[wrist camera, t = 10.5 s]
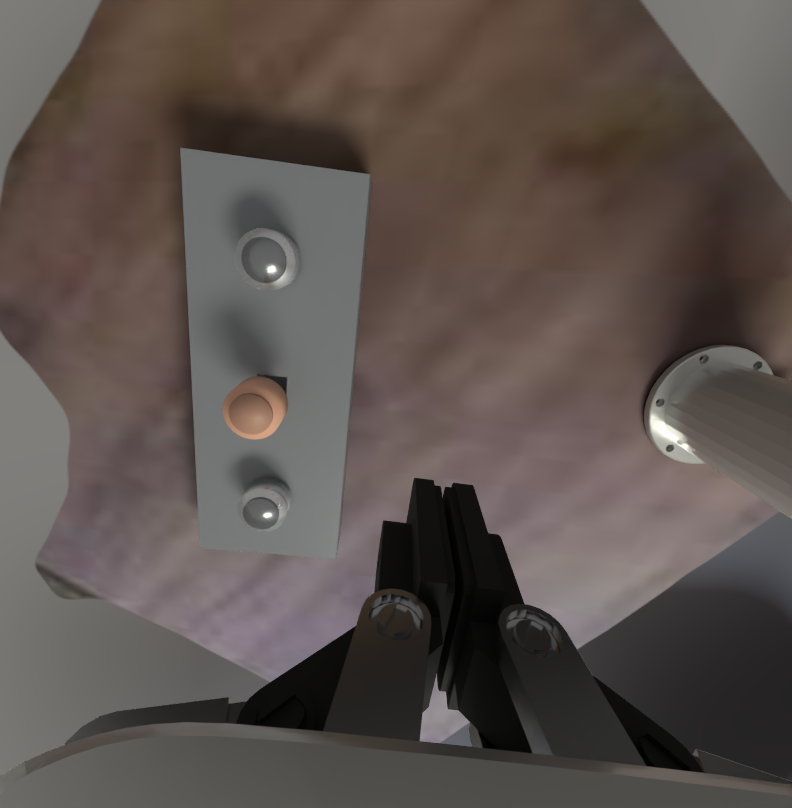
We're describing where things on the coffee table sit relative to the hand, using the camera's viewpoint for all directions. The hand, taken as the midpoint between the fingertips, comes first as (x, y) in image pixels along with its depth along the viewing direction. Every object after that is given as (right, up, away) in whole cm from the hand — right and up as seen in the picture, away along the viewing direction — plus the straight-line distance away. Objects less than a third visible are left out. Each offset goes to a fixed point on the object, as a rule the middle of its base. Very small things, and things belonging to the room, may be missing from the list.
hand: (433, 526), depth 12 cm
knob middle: (-12, +5, +25) cm, 28 cm away
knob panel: (-12, +6, +29) cm, 32 cm away
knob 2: (-14, -5, +31) cm, 34 cm away
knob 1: (-11, +16, +24) cm, 31 cm away
